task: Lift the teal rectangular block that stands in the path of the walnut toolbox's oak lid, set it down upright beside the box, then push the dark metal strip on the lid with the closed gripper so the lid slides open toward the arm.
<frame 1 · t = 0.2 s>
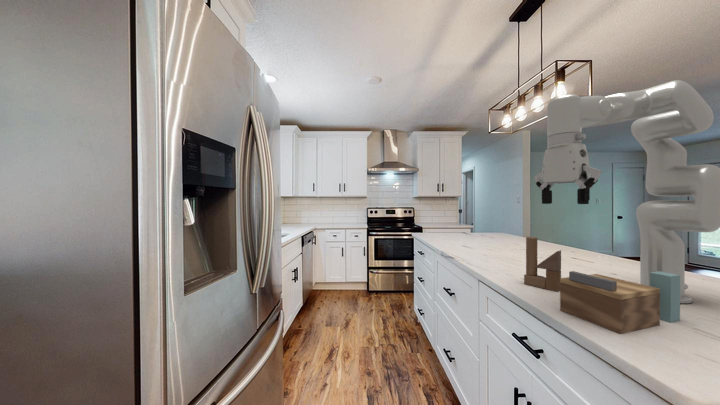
hand: (563, 203, 73), 31 cm above the worktop, tool pointing down, fingers open, 9 cm apart
teal rectangular block: (664, 318, 70), on the worktop
wooden block: (541, 287, 96), on the worktop
lid: (606, 280, 71), point 10 cm above the worktop, slide at 0.0 cm
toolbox: (606, 317, 71), on the worktop
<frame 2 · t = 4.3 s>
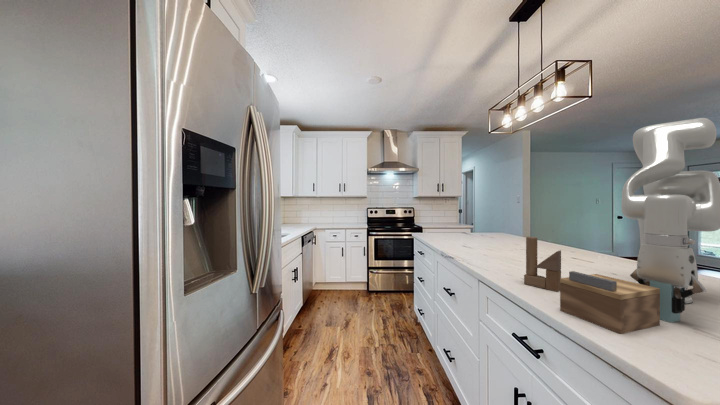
hand: (664, 308, 70), 3 cm above the worktop, tool pointing down, fingers closed on teal rectangular block, 4 cm apart
teal rectangular block: (664, 318, 70), on the worktop, touching gripper
everything else where it was.
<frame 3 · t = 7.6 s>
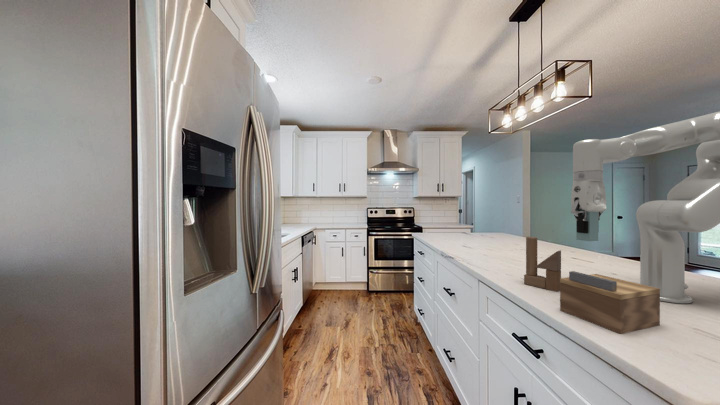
hand: (587, 232, 87), 21 cm above the worktop, tool pointing down, fingers closed on teal rectangular block, 4 cm apart
teal rectangular block: (587, 240, 87), point 19 cm above the worktop, touching gripper
everything else where it was.
when the fingers open (4 cm above the worktop, at t = 11.1 s): teal rectangular block drops 2 cm, on the worktop.
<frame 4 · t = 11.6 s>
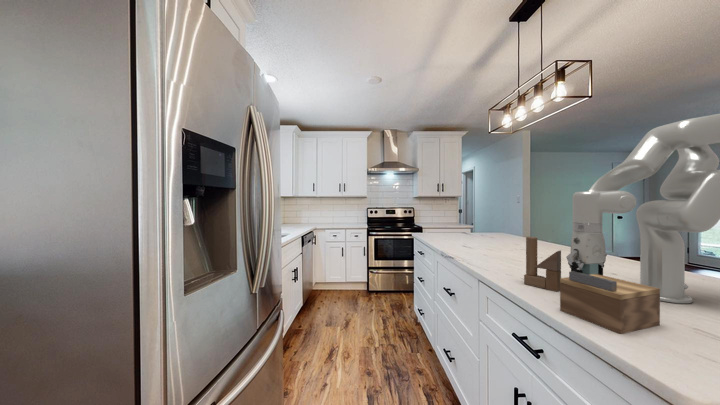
hand: (587, 279, 87), 5 cm above the worktop, tool pointing down, fingers open, 9 cm apart
teal rectangular block: (587, 295, 87), on the worktop
everything else where it was.
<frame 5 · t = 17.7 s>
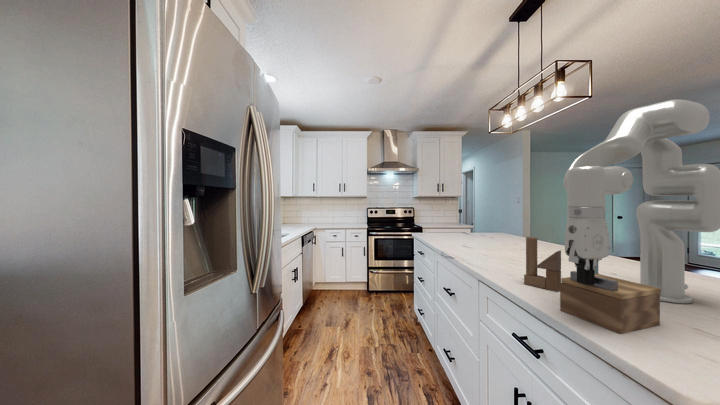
hand: (585, 283, 69), 10 cm above the worktop, tool pointing down, fingers closed
lid: (607, 280, 71), point 10 cm above the worktop, slide at 0.4 cm, touching gripper
everything else where it was.
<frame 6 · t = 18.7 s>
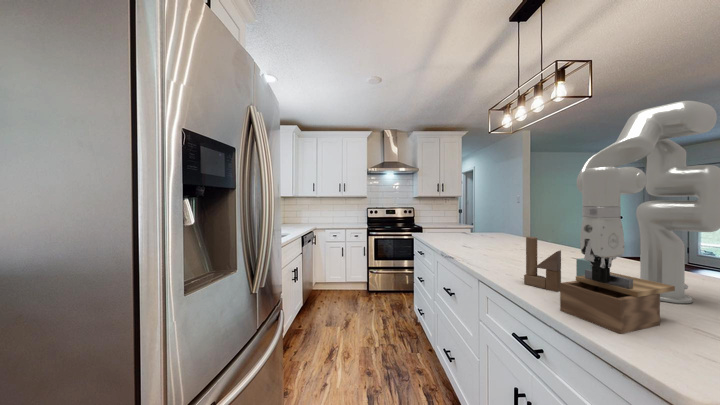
hand: (600, 281, 70), 10 cm above the worktop, tool pointing down, fingers closed
lid: (622, 278, 73), point 10 cm above the worktop, slide at 6.2 cm, touching gripper
everything else where it was.
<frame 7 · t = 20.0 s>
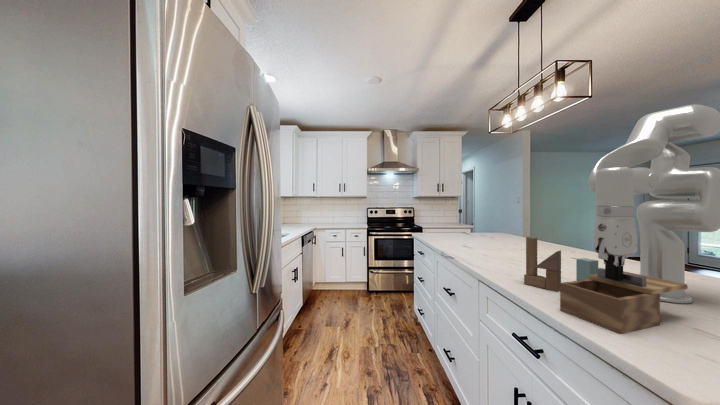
hand: (613, 279, 72), 10 cm above the worktop, tool pointing down, fingers closed
lid: (634, 277, 74), point 10 cm above the worktop, slide at 11.4 cm, touching gripper
everything else where it was.
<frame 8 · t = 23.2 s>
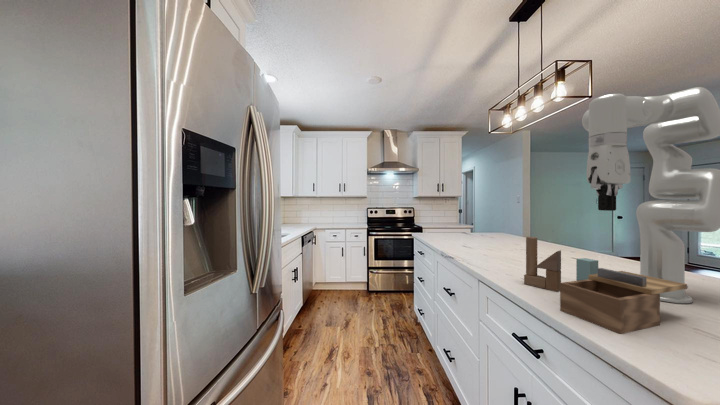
hand: (607, 210, 71), 29 cm above the worktop, tool pointing down, fingers closed
lid: (634, 277, 74), point 10 cm above the worktop, slide at 11.5 cm
everything else where it was.
at the end: lid slide at 11.5 cm; teal rectangular block inside the target area (0.1 cm from its centre), on the worktop; teal rectangular block tilted 0° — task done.
